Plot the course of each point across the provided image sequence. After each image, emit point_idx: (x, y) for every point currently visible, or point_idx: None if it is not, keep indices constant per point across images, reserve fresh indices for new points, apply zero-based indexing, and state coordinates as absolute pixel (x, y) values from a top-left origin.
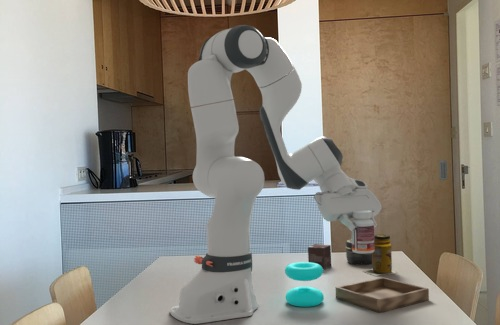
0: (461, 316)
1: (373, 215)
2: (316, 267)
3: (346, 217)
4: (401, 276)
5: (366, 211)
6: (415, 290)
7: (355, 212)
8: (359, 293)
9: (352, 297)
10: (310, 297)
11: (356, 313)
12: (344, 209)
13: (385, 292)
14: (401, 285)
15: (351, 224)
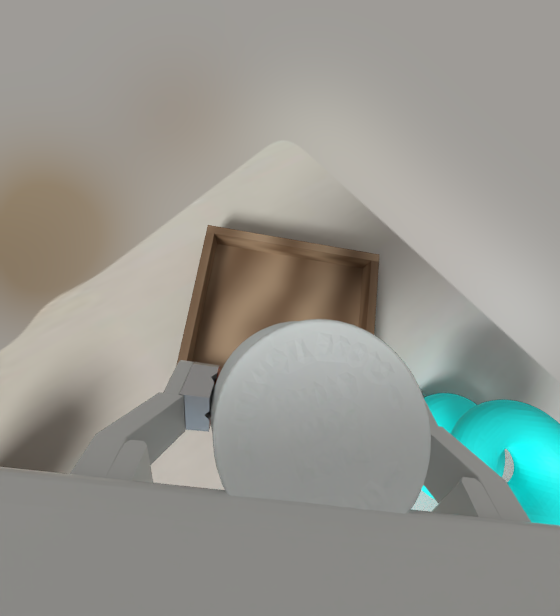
0: (271, 148)
1: (118, 425)
2: (515, 415)
3: (483, 479)
4: (10, 430)
5: (310, 372)
6: (210, 263)
7: (427, 440)
8: (367, 324)
9: None
10: (472, 403)
11: (405, 297)
12: (557, 572)
13: (239, 336)
14: (199, 308)
15: (428, 414)
